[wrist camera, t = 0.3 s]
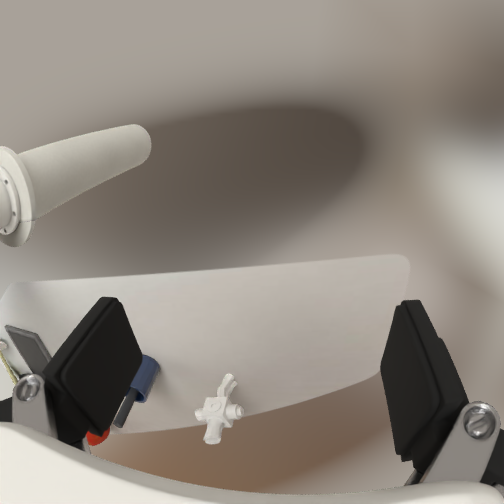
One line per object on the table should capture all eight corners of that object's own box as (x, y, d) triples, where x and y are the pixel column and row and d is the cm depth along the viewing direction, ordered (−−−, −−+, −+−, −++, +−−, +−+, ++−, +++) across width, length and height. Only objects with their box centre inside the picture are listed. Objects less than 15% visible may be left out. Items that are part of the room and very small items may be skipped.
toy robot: (201, 375, 46) (181, 434, 36) (244, 371, 44) (230, 435, 34) (211, 389, 48) (194, 446, 37) (252, 385, 46) (241, 447, 35)
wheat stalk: (-16, 355, 56) (32, 431, 63) (-2, 353, 56) (48, 432, 63) (-3, 344, 64) (41, 418, 70) (11, 341, 64) (57, 418, 70)
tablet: (6, 324, 53) (3, 327, 52) (37, 333, 51) (34, 336, 50) (40, 379, 62) (38, 382, 61) (73, 391, 60) (71, 394, 59)
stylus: (141, 363, 46) (111, 421, 35) (148, 364, 46) (119, 424, 35) (144, 368, 47) (115, 426, 36) (151, 369, 47) (123, 429, 35)
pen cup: (131, 352, 46) (115, 382, 40) (155, 356, 46) (140, 387, 40) (140, 370, 49) (125, 399, 42) (163, 374, 48) (150, 405, 42)
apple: (109, 425, 65) (95, 454, 56) (85, 408, 63) (69, 437, 54) (118, 419, 62) (103, 451, 52) (92, 401, 60) (74, 433, 50)
